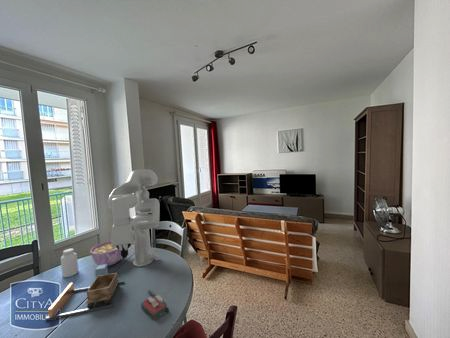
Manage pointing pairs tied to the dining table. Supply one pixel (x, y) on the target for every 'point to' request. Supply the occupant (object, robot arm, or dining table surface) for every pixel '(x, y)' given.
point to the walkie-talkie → (154, 306)
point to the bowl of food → (105, 254)
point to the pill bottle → (69, 263)
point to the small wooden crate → (102, 289)
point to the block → (101, 270)
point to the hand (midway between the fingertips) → (124, 257)
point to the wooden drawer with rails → (63, 299)
